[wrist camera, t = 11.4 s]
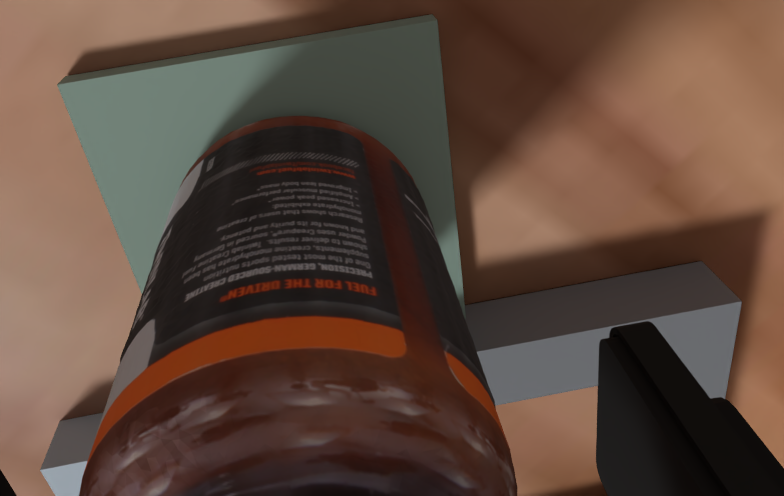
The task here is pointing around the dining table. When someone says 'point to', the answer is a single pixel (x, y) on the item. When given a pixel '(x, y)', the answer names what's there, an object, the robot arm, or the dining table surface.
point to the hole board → (603, 330)
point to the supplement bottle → (299, 336)
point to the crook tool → (70, 454)
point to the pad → (258, 102)
